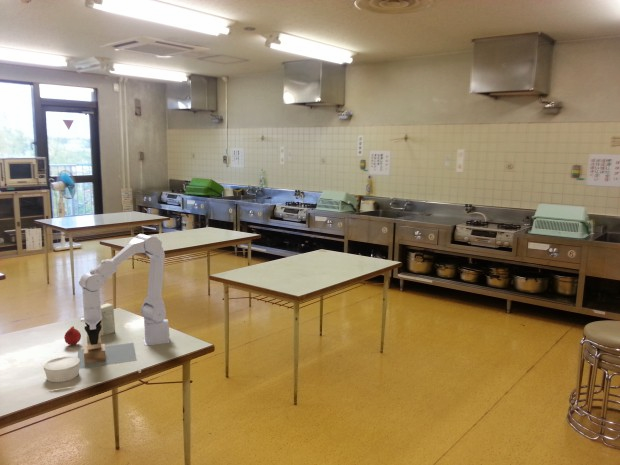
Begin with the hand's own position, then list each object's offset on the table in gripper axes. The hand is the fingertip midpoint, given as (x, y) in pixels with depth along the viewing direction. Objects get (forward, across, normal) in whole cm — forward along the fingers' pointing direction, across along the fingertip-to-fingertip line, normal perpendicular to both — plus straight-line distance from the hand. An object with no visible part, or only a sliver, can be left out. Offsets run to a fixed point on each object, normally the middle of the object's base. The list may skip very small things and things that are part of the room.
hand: (94, 341), depth 178 cm
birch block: (+2, 0, 0) cm, 2 cm away
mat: (+7, -2, +4) cm, 8 cm away
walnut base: (+7, 0, 0) cm, 7 cm away
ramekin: (+7, +11, -10) cm, 17 cm away
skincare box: (+7, -27, +4) cm, 28 cm away
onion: (+7, -17, -8) cm, 20 cm away
